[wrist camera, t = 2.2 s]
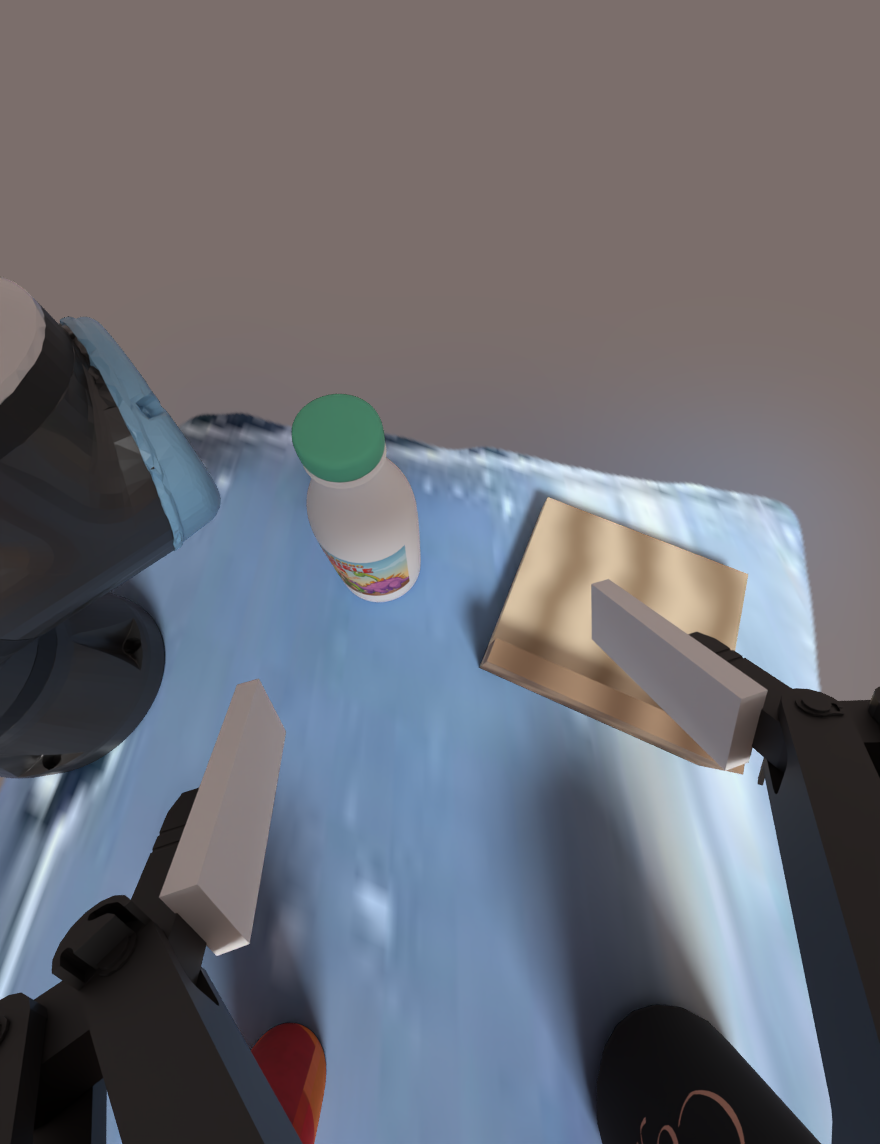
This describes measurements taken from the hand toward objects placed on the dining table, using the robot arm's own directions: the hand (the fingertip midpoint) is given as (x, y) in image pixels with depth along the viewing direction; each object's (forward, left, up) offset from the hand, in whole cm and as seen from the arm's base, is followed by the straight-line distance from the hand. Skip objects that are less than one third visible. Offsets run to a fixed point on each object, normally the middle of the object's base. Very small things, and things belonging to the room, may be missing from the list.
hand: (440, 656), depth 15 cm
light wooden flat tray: (+13, +12, -21) cm, 27 cm away
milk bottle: (-9, +8, -21) cm, 24 cm away
